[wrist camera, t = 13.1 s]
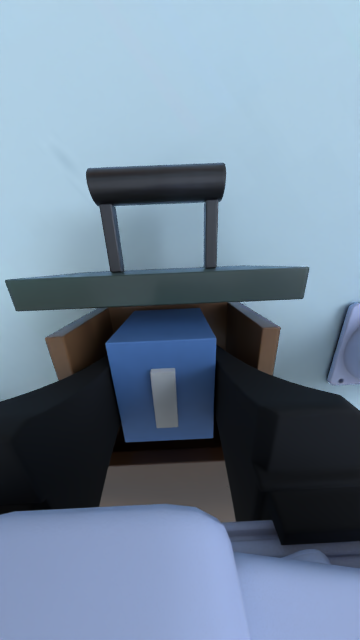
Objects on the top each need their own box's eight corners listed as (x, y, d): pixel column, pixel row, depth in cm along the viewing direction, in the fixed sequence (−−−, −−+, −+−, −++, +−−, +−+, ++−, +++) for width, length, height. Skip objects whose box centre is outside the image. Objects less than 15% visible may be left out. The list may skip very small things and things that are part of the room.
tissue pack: (200, 307, 11) (218, 341, 6) (200, 376, 13) (214, 445, 8) (134, 310, 11) (101, 346, 6) (143, 379, 13) (123, 449, 8)
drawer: (73, 198, 10) (-59, 112, 5) (250, 191, 10) (344, 98, 5) (117, 406, 16) (82, 490, 10) (233, 401, 16) (267, 481, 10)
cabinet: (107, 370, 16) (43, 469, 8) (239, 364, 16) (297, 457, 8) (127, 465, 20) (98, 587, 12) (231, 460, 20) (263, 578, 12)
